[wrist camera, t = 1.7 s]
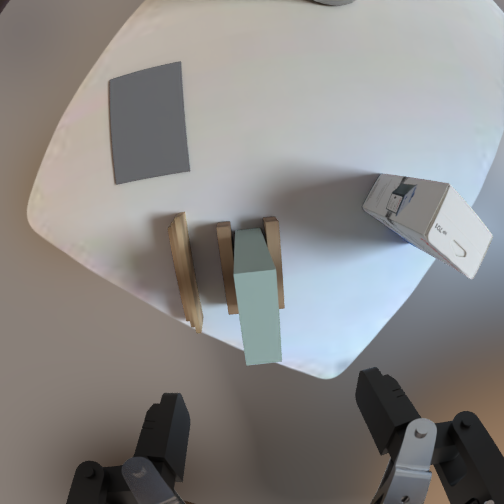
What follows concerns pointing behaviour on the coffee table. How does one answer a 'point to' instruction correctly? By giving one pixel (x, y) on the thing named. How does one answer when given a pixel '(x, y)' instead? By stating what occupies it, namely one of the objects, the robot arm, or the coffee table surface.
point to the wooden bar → (185, 271)
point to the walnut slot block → (228, 259)
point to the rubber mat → (148, 123)
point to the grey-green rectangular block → (257, 297)
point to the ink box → (431, 220)
